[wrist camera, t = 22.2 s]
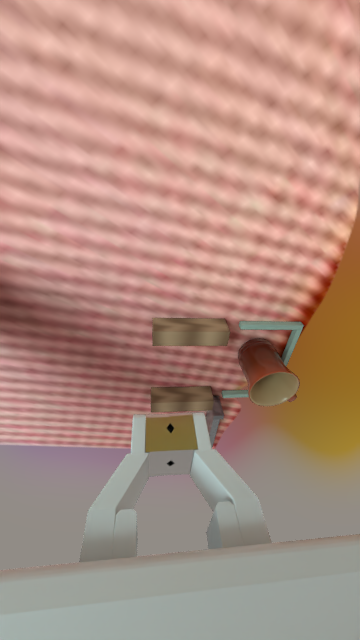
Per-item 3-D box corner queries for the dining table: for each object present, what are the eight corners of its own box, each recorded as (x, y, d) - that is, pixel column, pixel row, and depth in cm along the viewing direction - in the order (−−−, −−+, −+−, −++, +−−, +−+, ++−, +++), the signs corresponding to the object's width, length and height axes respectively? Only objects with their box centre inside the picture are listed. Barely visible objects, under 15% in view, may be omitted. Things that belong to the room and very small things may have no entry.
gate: (199, 440, 68) (202, 460, 64) (209, 396, 58) (213, 416, 54) (207, 440, 69) (211, 460, 64) (218, 395, 59) (224, 415, 54)
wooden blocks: (150, 396, 57) (150, 412, 54) (152, 317, 45) (152, 331, 42) (208, 395, 59) (211, 410, 55) (224, 318, 47) (230, 332, 44)
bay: (221, 393, 59) (222, 397, 58) (239, 321, 47) (241, 324, 46) (271, 392, 60) (273, 396, 59) (300, 321, 49) (303, 325, 48)
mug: (223, 353, 52) (238, 394, 43) (257, 325, 48) (280, 363, 40) (260, 377, 57) (279, 418, 49) (292, 354, 54) (319, 393, 45)
